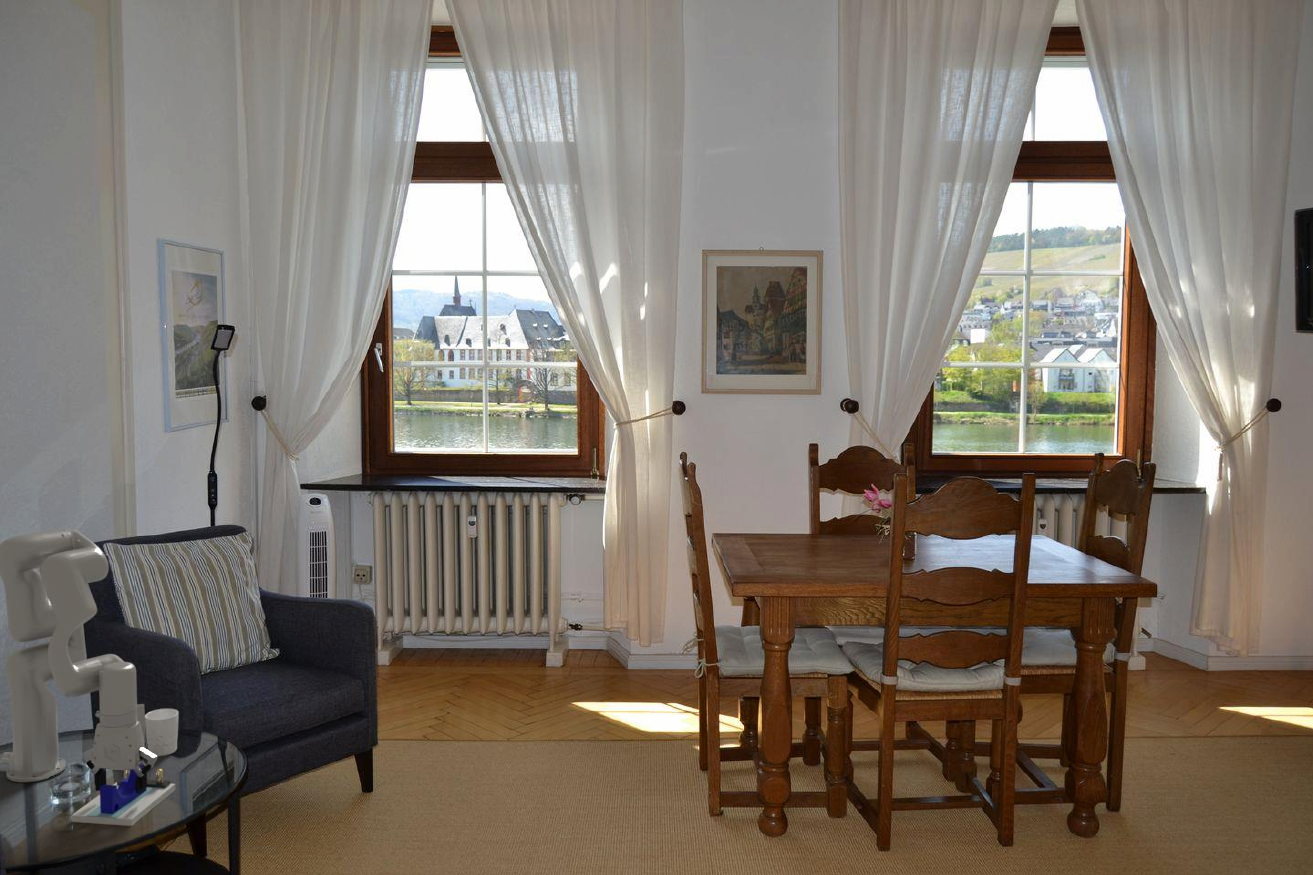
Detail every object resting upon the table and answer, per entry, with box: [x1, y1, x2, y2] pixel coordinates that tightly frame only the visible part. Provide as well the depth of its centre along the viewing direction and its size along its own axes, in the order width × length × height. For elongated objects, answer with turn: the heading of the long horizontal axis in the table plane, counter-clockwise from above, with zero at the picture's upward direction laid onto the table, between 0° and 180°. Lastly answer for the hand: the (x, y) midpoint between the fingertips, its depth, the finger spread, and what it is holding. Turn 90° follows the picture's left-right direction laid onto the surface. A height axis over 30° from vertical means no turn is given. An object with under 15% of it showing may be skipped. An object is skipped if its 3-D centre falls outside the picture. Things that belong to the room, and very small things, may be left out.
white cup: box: [145, 708, 179, 757], centre depth 269 cm, size 8×8×10 cm
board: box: [70, 781, 176, 827], centre depth 239 cm, size 14×18×2 cm
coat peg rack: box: [116, 768, 171, 788], centre depth 247 cm, size 12×2×4 cm, turn 86°
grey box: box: [137, 703, 147, 744], centre depth 274 cm, size 4×7×10 cm, turn 120°
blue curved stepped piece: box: [99, 765, 147, 814], centre depth 237 cm, size 12×4×6 cm, turn 172°
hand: (121, 789), depth 237 cm, fingers open, 9 cm apart
